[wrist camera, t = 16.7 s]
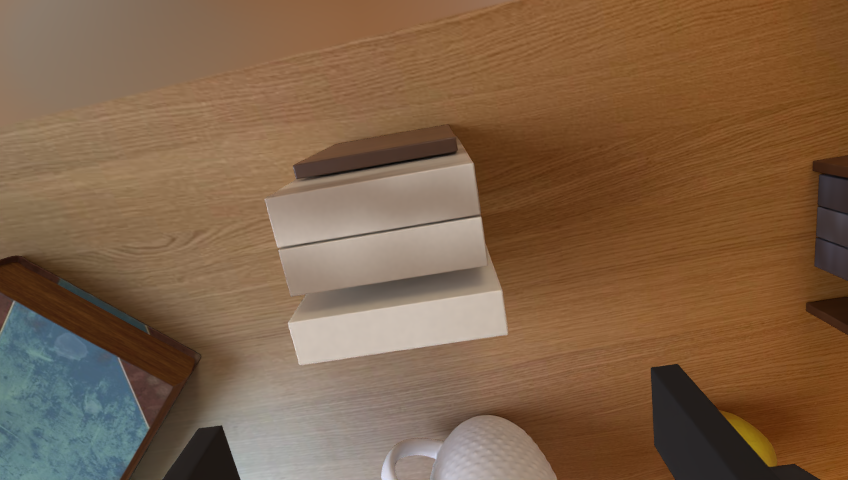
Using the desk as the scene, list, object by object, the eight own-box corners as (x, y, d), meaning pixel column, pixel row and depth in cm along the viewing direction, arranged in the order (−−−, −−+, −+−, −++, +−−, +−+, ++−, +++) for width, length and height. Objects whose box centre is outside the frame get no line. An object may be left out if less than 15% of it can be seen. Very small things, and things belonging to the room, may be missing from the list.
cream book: (342, 236, 40) (287, 323, 25) (475, 214, 40) (502, 289, 24) (348, 264, 41) (299, 366, 26) (479, 243, 40) (508, 335, 25)
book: (15, 252, 41) (-40, 273, 36) (204, 356, 44) (176, 388, 39) (-67, 442, 47) (-124, 482, 42) (105, 525, 49) (69, 571, 44)
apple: (682, 462, 46) (732, 536, 38) (655, 411, 44) (702, 477, 37) (747, 434, 45) (812, 504, 37) (723, 381, 43) (785, 442, 36)
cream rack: (328, 145, 38) (258, 178, 23) (454, 122, 38) (470, 141, 22) (359, 285, 41) (317, 396, 26) (476, 266, 41) (504, 370, 25)
